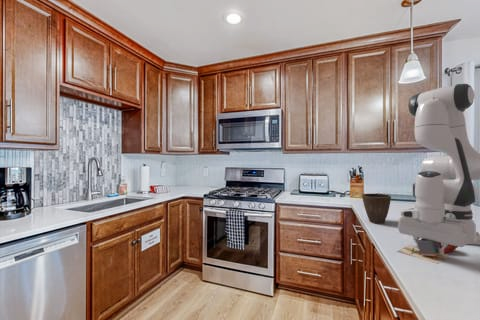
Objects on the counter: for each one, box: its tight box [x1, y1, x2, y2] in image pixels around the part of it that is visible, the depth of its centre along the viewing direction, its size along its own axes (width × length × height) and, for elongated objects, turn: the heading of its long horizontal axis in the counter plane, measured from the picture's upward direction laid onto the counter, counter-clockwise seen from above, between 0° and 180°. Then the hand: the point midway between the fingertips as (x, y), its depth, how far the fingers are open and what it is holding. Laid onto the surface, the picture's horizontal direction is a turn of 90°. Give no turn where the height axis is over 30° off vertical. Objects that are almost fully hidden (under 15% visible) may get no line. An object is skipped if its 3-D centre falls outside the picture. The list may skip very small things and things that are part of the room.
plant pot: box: [361, 193, 392, 225], centre depth 140 cm, size 15×15×16 cm
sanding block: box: [417, 238, 440, 256], centre depth 89 cm, size 7×4×5 cm, turn 125°
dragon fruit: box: [439, 242, 459, 253], centre depth 94 cm, size 8×8×12 cm
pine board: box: [396, 244, 450, 264], centre depth 91 cm, size 12×13×2 cm
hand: (429, 251), depth 89 cm, fingers closed on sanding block, 5 cm apart
